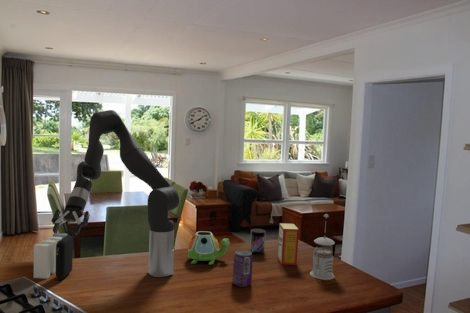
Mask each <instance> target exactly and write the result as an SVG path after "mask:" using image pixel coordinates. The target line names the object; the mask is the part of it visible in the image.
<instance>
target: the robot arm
mask: <svg viewBox="0 0 470 313" xmlns="http://www.w3.org/2000/svg"><path fill="white" fill-rule="evenodd" d="M88 130H89V131H88V144H87V149H86V152H85V154H84V155H85V156H84V159H83V160H84V161H81V162H79V164H78V165H77V167H76V180H75V183H74V186H73V188H72V190H71V192H70V194H69V197H68V199H67V202H66V204H65V206H64V207H65V208H64V210H60V209H56V210H55V213H53V216H52V218H51V221H50V222H51V223H52V224H53V228H52V232H53V234H55V233H58V231H59V229H60V226H61V225H62V224H64V223H66V222H72V223H75V222H76V223H77V224H75V225H76V226H75V229H74V231H73V234H74V235H75V236H78V235H79V234H80V231H81V229H82V228H83V227H86V226H88V223H89V220H90V213H89V211H88V210H86V211H84V210H85V208H86V205H87V202H88V200H89V197H90V192H91V190H92V187H93V182H92V181H95V180H98V179H99V178H100V176H101V175H102V164H101V161H102V159H103V156H104V153H105V152H104V151H105V150H104V146H103V144H102V142H101V141H100V139H101V136H103V135H107V134H110V133H113V134H114V135H116V137H117V138H118V140H119V158H120V160H121V162H122V163H123V165H124V167H126V169H127V170H128V172H130V173H131V175H133V176H134V177H136V178H137V179H139V180H141V181H142V182H144V183H145V184H146V185H148V186H149V187H150V189H152V190H151V191H150V192H149V194H148V196H147V222H148V224H149V238H148V239H149V241H148V244H149V246H148V269H147V270H148V272H147V273H148V275H149V276H151V277H155V278H164V277H168V276H173V275H174V260H175V259H174V258H175V257H174V256H175V252H174V251H175V250H174V245H175V244H174V240H175V239H174V238H175V222H174V221H173V220H171V219H169V211H173V210H175V209H176V208H177V207H178V206H179V205H180V196H179V193H178V191H177V190H176V189H175V188H174V186H173V185H172V184H171V183H170V182H169V181H168V180H167V179H166V178H165V177H164V176H163V175H162V173H161V172H160V171H159V170H158V169H157V167H156V166H155V164H154V163H153V162H152V160H151V159H150V158H149V157H148V155H147V154H146V152H145V151H144V150H143V148H141V146H140V144H139V143H138V142H137V141H136V140H135V138H134V137H133V135H132V134H131V133H130V131H129V129H128V127H127V126H126V124H125V123H124V121H123V119H122V117H121V116H120V114H119V113H118V112H117V111H115V110H112V109H109V110H104V111H97V112H94V113H93V114H92V115H91V116H90V120H89V129H88ZM91 180H92V181H91ZM81 217H83V219H82V221H81Z"/></svg>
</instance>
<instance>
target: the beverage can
mask: <svg viewBox="0 0 470 313" xmlns="http://www.w3.org/2000/svg"><path fill="white" fill-rule="evenodd" d="M253 260H254V257H253V254H252V252H251V251H250V250H248V249H238V250H235V252H234V254H233V262H232V264H233V265H232V278H231V279H232V284H234V285H235V286H237V287H243V288H245V287H247V286H250V285H251V284H252V283H253V282H252V280H253V262H254V261H253Z"/></svg>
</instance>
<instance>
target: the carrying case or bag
mask: <svg viewBox="0 0 470 313" xmlns="http://www.w3.org/2000/svg"><path fill="white" fill-rule="evenodd" d="M73 241H74V240H73V237H72V236H71V235H70V234H68V235H67V236H65V237H64V238H62V239H61V240H60V241H58V242H57V244H56V272H55V277H56V279H57V280H59V281H61V280H63V279H64V278H66V277H67V276H68V275H69V274H70V273H71V272H72V270H73V252H74V250H73V249H74V248H73V247H74V245H73Z"/></svg>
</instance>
